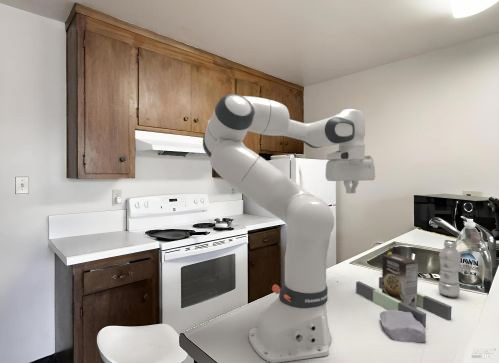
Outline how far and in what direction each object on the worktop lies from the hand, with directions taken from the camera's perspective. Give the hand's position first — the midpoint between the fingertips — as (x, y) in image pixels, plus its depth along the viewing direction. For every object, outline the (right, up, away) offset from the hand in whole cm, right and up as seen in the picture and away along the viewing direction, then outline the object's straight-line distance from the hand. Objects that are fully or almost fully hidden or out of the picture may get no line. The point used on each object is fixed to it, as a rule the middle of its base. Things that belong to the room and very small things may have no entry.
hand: (350, 193), depth 102 cm
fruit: (+24, -37, +21) cm, 49 cm away
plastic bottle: (+36, -38, +1) cm, 52 cm away
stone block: (+6, -39, -22) cm, 45 cm away
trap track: (+14, -38, -7) cm, 41 cm away
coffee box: (+14, -38, -6) cm, 41 cm away
